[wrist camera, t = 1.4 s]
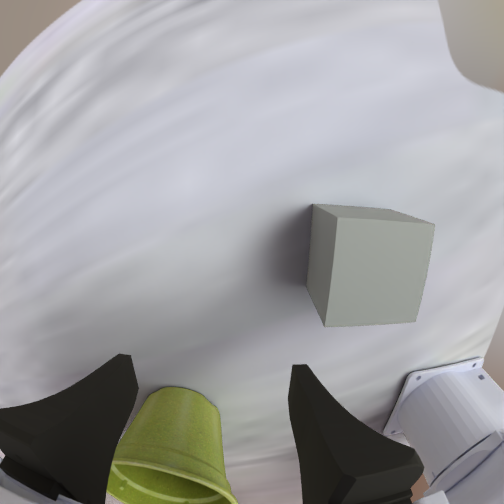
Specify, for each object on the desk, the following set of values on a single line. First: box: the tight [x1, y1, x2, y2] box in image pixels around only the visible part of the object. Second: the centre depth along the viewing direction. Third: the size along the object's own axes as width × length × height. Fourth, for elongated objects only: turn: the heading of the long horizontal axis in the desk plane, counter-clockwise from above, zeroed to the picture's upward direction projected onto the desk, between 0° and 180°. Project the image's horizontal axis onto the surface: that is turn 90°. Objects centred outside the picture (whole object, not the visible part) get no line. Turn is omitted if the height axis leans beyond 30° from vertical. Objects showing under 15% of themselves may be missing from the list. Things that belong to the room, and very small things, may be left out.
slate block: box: [306, 204, 435, 327], centre depth 14 cm, size 5×5×5 cm
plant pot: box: [106, 387, 238, 504], centre depth 16 cm, size 9×9×9 cm
